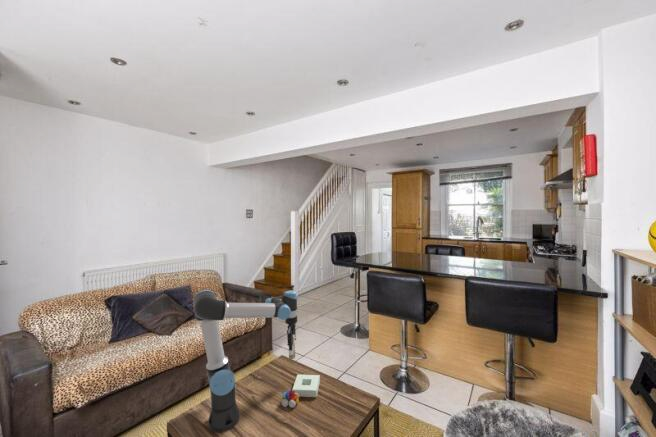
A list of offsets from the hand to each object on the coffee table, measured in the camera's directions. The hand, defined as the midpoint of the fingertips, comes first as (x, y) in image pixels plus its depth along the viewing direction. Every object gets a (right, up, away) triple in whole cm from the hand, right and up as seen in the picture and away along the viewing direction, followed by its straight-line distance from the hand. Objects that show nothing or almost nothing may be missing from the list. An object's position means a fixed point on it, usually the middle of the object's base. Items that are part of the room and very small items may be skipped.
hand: (292, 352), depth 172 cm
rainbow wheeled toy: (+2, -19, -20) cm, 27 cm away
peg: (0, -3, 0) cm, 3 cm away
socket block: (+10, -18, -8) cm, 22 cm away
